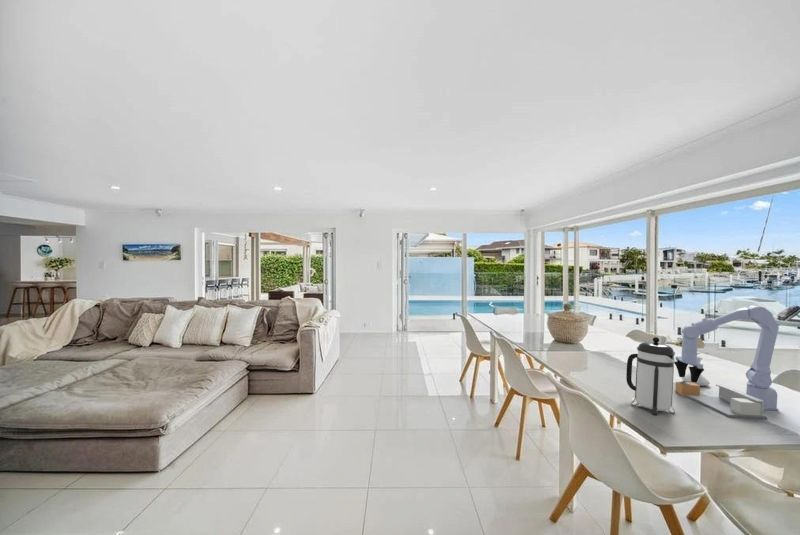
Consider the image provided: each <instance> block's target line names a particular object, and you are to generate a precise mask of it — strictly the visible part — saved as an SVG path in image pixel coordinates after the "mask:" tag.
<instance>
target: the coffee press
mask: <svg viewBox="0 0 800 535" xmlns="http://www.w3.org/2000/svg"><path fill="white" fill-rule="evenodd" d="M636 350H637V353H632V354H629V356H628V357H627V362H626V374H625V376H626V377H625V378H626V379H625V380H626V383H627V385H628V387H629V388H630V390H633V391H634V399H633V400H632V401H631V403H630V404H631V406H632V407H636V406H641V407H643V408H645V409H649V410H651V411H652V415H653V416H657V415H658V411H660V412H666V411H668V412H669V413H670V414H672V415H674V414H676V411H675V409H674V408H673V394H674V393H673V391H674V390H673V389H674V375H675V374H674V371H675V370H674V368H675V363H674V362H675V361H676V358H675V355H676V352H675V351H674V349H673V348H672V346H669V345H668V344H664V343H660V338H658V337H656V336H654V337H653V338H652V341H645V342H640V343H639V344H638V346H637V347H636ZM634 359H636V368H635V369H636V372H635V385H634V383H633V382H632V376H633V374H632V373H633V361H634ZM634 402H636V403H635V404H633V403H634ZM671 408H672V410H673V412H672V411H671V410H670V409H671Z"/></svg>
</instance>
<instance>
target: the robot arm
mask: <svg viewBox="0 0 800 535" xmlns="http://www.w3.org/2000/svg"><path fill="white" fill-rule="evenodd" d="M737 320H751V321H753V322H755V323H756V325H758V326H759V327H760V333H759V338H758V341H757V342H758V343H757V346H756V351H755V355H754V359H753V362H752V364H751V365H750V367H749V369H748V370H746V373H745V376H746V378H747V380H748V381H747V382H746V390H745V391H746V392H745V394H747V395H750V396H753V397H755V398H758V399H760V400H763V401H764V410H769V411H770V410H771V411H779V408H778V393H777V391H776V389H774V388H773V387H772V383H773V379H772V377H771V376H772V375H771V374H772V372H771V367H770V366H771V362H772V358H773V354H774V350H775V345H776V341H777V337H778V333H779V329H780V328H779V325H778V323H777V321H776V320H775V317H774V314H773V312H771V311H770V310H768V309H767V308H766V307H763V306H759V305H754V304H751V305H748V306H744V307H741V308H737V309H735V310H733V311H732V310H731V311H730V312H727V313H726V314H723V315H721V316H718V317H716V318H710V317H708V318H705V317H704V318H702V319H701V320H699V321H697V322H695V323H694V322H691V325H685V326H683V328H682V329H681V334H682V335H683V336H682V340H681V341H682V342H681V356H677V355H676V356H675V361H674V366H675V367H676V369H677V373H678V377H680V378H682V377H685V375H686V372H687V368H688V369H689V373H691V382H697V381H698V378H699V376H700V374H701V375H702V373H703V372H704V371H705V369H704V364H703V363H701V362H700V363H699V362H697V357H698V354H697V353H698V348H697V347H698V342H697V338H700V335H701V336H702V335H705V334H708V333H712V332H714V331H716V330H717V329H718V327H719V326H722V325H725V324H727V323H730V322H733V321H737Z"/></svg>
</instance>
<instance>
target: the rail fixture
mask: <svg viewBox="0 0 800 535" xmlns="http://www.w3.org/2000/svg"><path fill="white" fill-rule="evenodd" d="M715 386H716V387H718V396H714V395H713V396H711V395H710V396H709V395H700V396H696V395H686V398H687V397H688V399H689V400H692V401H694V402H696V403H698V404H700V405H702V406H704V407H706V408H709V409H710V410H713V411H715V412H717V413H718V414H721V415H722V416H725V417H727V418H734V419H735V418H736V419H751V420H753V419H754V420H768V416H766V415H764V414H765V409H764V401H763V400H760V399H758V398H755V397H753V396H750V395H747V394H746V392H745V393H744V392H742V391H740V390H736V389H735V388H731V387H729V386H726V385H724V384H719V383H716V384H715Z"/></svg>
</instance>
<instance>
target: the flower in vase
mask: <svg viewBox="0 0 800 535" xmlns="http://www.w3.org/2000/svg"><path fill="white" fill-rule="evenodd" d="M697 342H698V347H697V349H705V342H704V340H703V339H702V338H701V337H698V338H697ZM702 353H703V351H702V352H697V355H700V354H702ZM702 360H703V357H701V356H700V357H699V356H697V362H699V363H701V361H702ZM681 380H683V381H682V382H690V383H695V384H697V385H700V387H701V386H706V387H707V386H710V384H711V383H710V380H708V379H707V378H706V377H705V376H704V375H703V374H702V373H701V374H700V376H699V378H698V381H697V382H691V373H690V372H689V373H687V374H686V373H685V377H681Z"/></svg>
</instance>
